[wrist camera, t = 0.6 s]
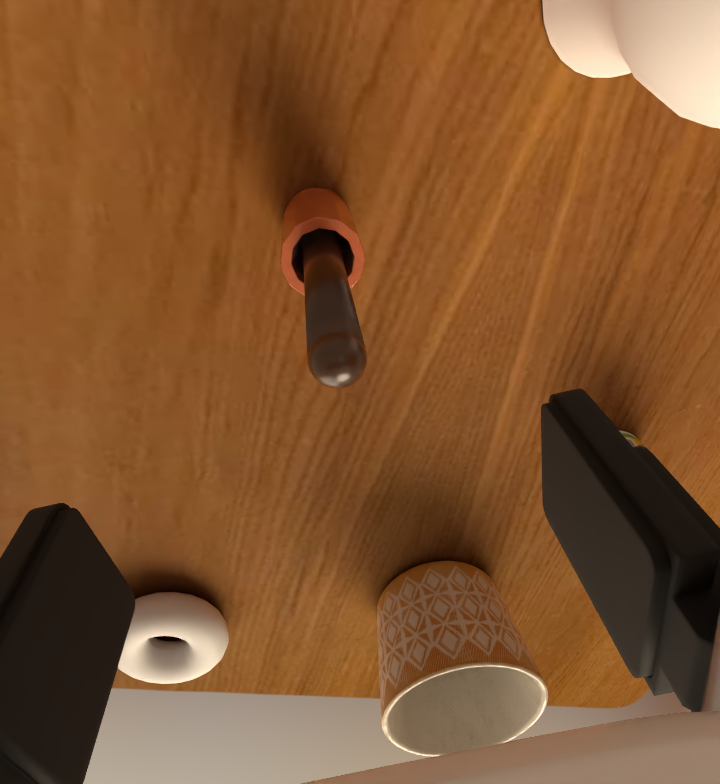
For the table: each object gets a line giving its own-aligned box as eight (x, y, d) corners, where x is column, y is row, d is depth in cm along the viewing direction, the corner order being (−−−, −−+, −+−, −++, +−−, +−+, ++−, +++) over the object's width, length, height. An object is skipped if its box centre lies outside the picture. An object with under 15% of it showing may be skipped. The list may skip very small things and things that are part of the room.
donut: (135, 568, 43) (95, 641, 47) (124, 604, 40) (82, 679, 44) (249, 600, 47) (203, 666, 51) (246, 635, 44) (198, 702, 48)
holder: (272, 202, 30) (266, 237, 24) (335, 176, 29) (346, 204, 23) (299, 264, 32) (301, 311, 26) (360, 240, 31) (375, 282, 25)
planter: (386, 541, 45) (409, 660, 36) (523, 554, 47) (576, 668, 38) (351, 636, 51) (364, 757, 42) (474, 643, 53) (510, 758, 44)
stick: (296, 216, 29) (298, 359, 15) (326, 204, 29) (357, 336, 15) (309, 246, 30) (322, 407, 16) (338, 234, 30) (378, 386, 16)
